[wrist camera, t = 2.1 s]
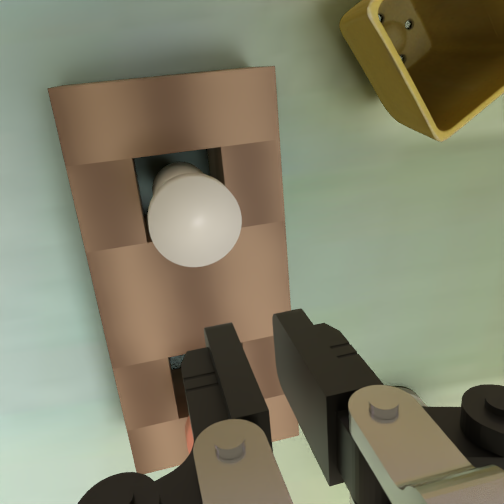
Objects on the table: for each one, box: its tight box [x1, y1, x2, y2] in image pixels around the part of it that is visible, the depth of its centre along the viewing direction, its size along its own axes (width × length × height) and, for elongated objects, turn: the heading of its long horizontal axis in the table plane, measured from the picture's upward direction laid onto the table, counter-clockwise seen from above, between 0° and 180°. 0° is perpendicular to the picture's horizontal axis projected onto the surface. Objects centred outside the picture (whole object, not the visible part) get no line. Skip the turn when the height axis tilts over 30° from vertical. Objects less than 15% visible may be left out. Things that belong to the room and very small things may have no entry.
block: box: [48, 66, 299, 474], centre depth 33 cm, size 12×26×6 cm, turn 5°
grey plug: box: [148, 162, 242, 267], centre depth 26 cm, size 4×4×7 cm
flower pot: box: [339, 0, 504, 142], centre depth 30 cm, size 9×9×9 cm
